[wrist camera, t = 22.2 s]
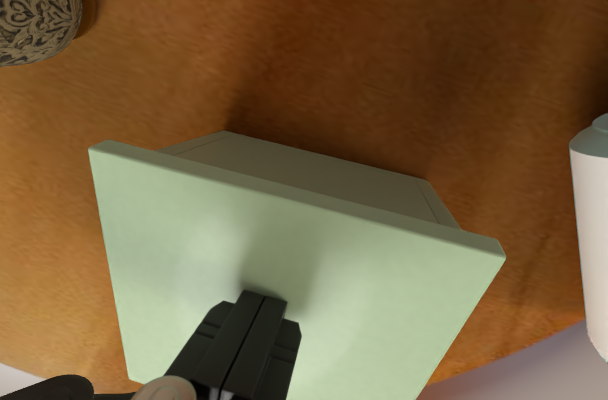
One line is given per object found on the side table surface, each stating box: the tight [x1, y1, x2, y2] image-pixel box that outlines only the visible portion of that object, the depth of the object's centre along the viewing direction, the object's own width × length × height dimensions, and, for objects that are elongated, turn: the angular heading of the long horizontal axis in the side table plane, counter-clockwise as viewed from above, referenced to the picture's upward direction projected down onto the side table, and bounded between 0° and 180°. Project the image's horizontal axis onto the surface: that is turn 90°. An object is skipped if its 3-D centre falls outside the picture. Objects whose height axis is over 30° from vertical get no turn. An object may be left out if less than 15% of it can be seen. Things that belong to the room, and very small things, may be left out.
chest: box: [154, 130, 462, 230], centre depth 16 cm, size 11×12×7 cm
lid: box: [88, 139, 506, 400], centre depth 12 cm, size 12×12×1 cm
